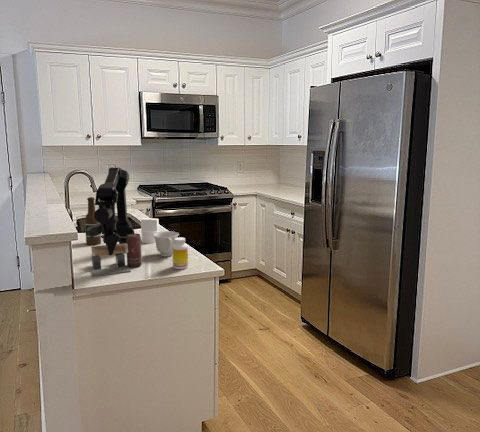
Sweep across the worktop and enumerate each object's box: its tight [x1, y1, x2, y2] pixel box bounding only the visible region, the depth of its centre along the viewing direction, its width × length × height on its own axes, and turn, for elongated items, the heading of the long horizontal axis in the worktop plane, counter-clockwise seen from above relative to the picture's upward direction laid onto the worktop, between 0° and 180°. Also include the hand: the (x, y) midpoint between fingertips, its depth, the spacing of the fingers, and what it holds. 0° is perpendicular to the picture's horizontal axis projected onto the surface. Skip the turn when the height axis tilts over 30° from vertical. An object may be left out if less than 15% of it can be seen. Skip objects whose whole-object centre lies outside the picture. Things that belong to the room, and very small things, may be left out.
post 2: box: [115, 253, 126, 267], centre depth 195 cm, size 6×3×6 cm, turn 23°
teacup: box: [153, 230, 180, 257], centre depth 209 cm, size 12×15×10 cm
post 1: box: [91, 255, 102, 270], centre depth 191 cm, size 6×3×6 cm, turn 23°
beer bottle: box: [84, 196, 102, 246], centre depth 226 cm, size 8×8×24 cm
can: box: [126, 232, 142, 269], centre depth 193 cm, size 6×6×14 cm
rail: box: [91, 243, 128, 257], centre depth 185 cm, size 3×14×3 cm, turn 113°
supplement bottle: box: [171, 236, 189, 270], centre depth 192 cm, size 7×7×13 cm
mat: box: [91, 265, 131, 278], centre depth 186 cm, size 6×15×1 cm, turn 113°
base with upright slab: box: [140, 217, 160, 245], centre depth 233 cm, size 9×9×12 cm
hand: (110, 253), depth 185 cm, fingers closed on rail, 3 cm apart
